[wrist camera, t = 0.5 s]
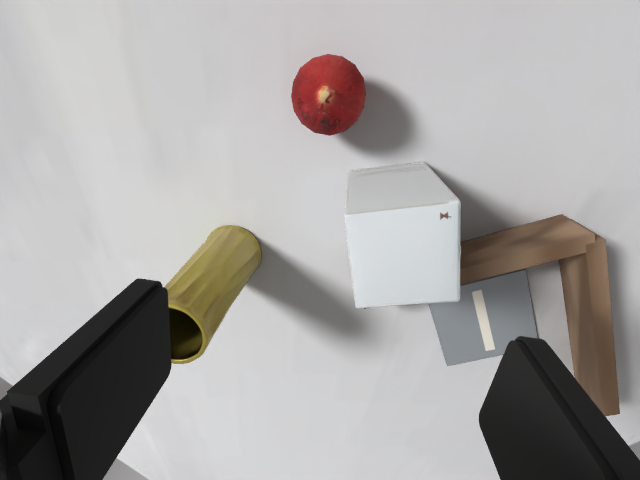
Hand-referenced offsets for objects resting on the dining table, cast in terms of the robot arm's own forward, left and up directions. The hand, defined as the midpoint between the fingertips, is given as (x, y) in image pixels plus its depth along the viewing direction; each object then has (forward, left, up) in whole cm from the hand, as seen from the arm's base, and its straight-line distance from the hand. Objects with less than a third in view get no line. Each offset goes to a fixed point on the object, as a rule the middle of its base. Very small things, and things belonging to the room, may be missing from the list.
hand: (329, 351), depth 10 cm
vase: (+14, +5, -26) cm, 30 cm away
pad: (-9, +21, -26) cm, 34 cm away
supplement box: (-3, +5, -26) cm, 27 cm away
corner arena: (-8, +22, -26) cm, 35 cm away
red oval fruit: (-1, -6, -26) cm, 27 cm away
